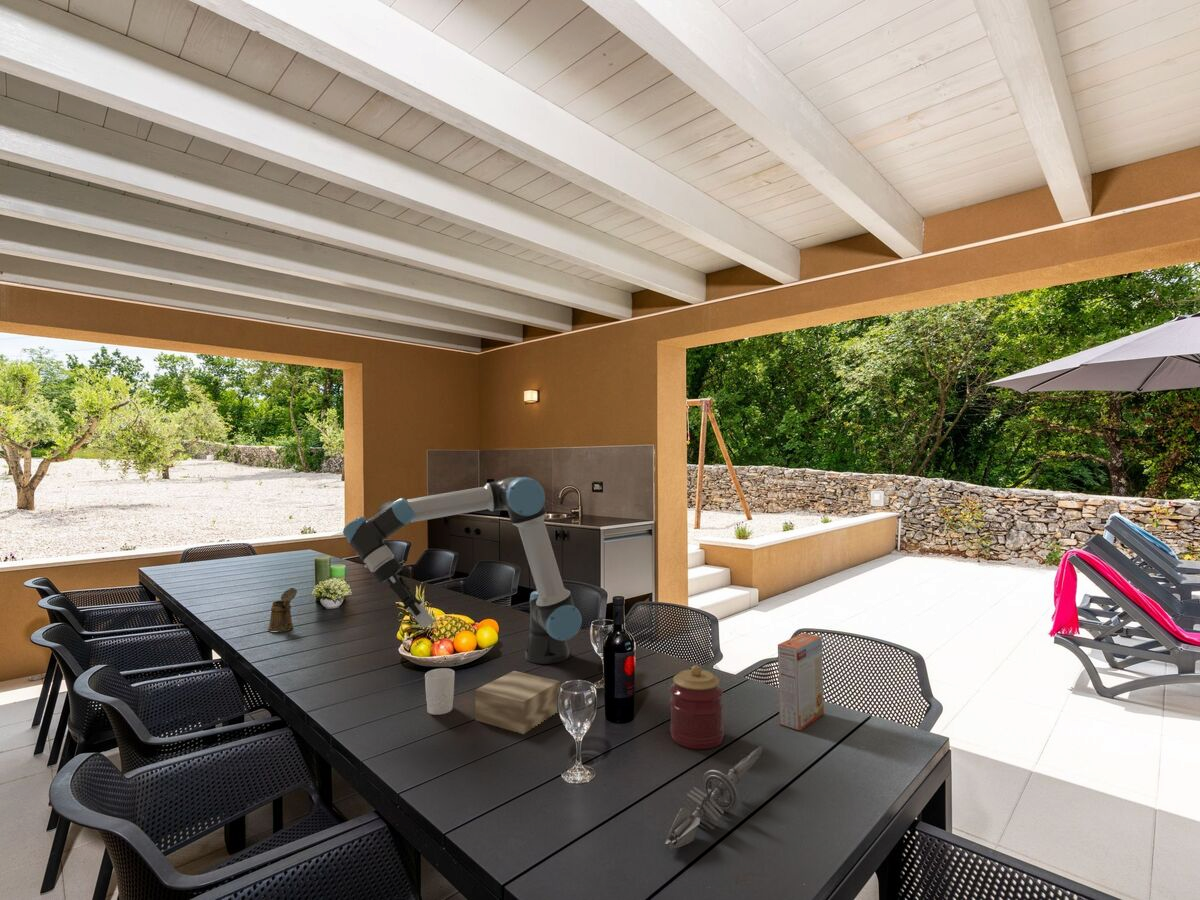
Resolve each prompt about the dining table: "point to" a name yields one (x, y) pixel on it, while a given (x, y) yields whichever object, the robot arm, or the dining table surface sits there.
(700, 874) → the dining table surface
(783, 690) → the cracker box
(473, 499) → the robot arm
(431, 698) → the white cup
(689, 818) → the spaceship
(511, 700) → the riser block
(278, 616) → the wooden mug
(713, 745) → the canister
